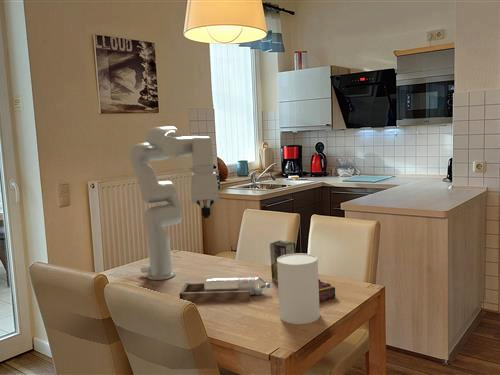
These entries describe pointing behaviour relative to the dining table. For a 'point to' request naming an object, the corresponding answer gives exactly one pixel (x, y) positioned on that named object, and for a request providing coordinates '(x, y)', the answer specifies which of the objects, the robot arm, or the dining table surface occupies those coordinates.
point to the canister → (298, 288)
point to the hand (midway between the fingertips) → (206, 217)
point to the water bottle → (236, 285)
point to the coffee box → (279, 254)
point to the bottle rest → (211, 294)
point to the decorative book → (325, 291)
